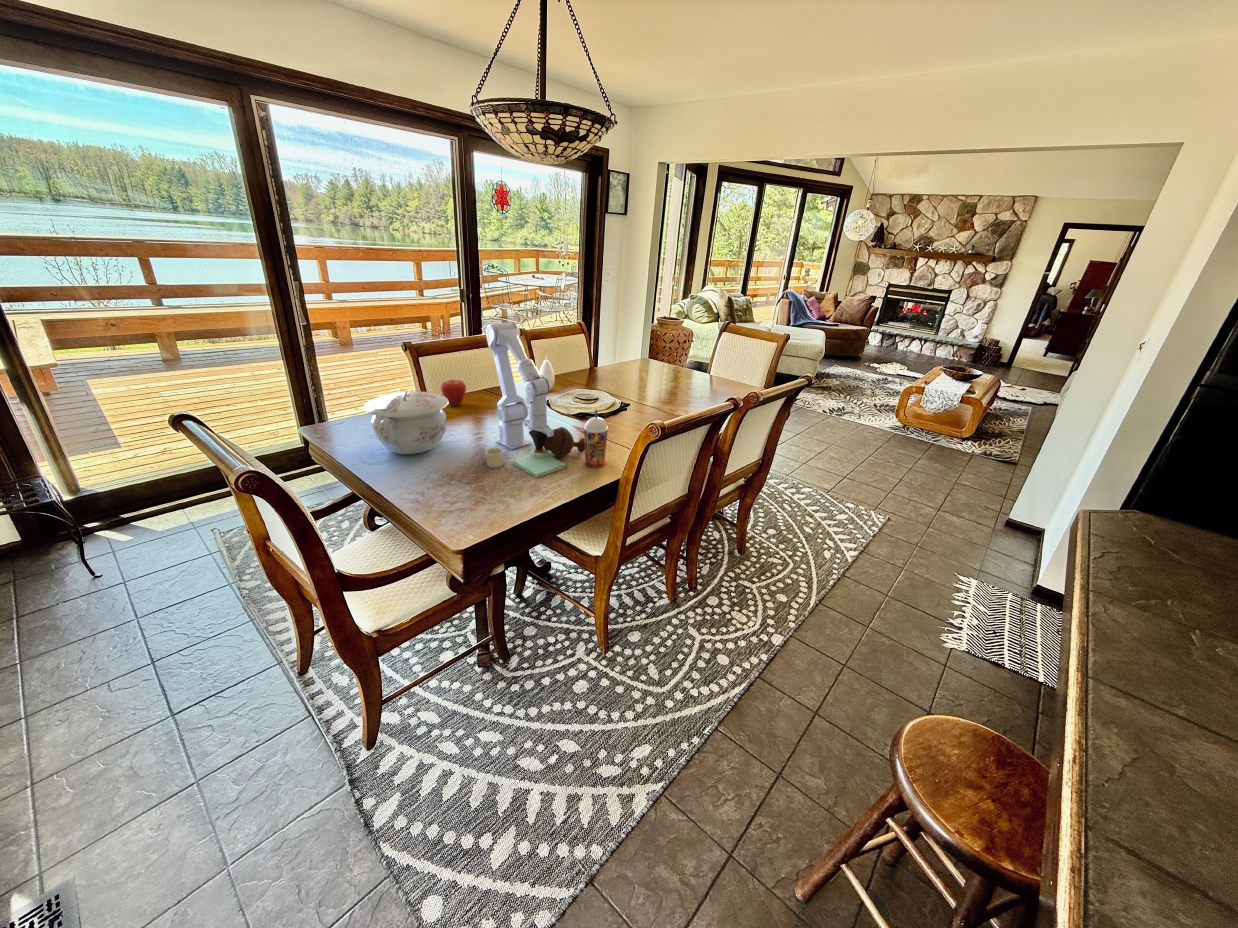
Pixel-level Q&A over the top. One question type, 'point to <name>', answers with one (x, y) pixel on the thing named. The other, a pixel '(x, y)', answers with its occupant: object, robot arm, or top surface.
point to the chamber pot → (408, 420)
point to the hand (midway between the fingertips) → (539, 450)
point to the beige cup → (494, 457)
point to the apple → (453, 391)
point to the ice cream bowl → (562, 443)
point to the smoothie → (595, 441)
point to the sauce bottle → (547, 372)
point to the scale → (538, 463)
